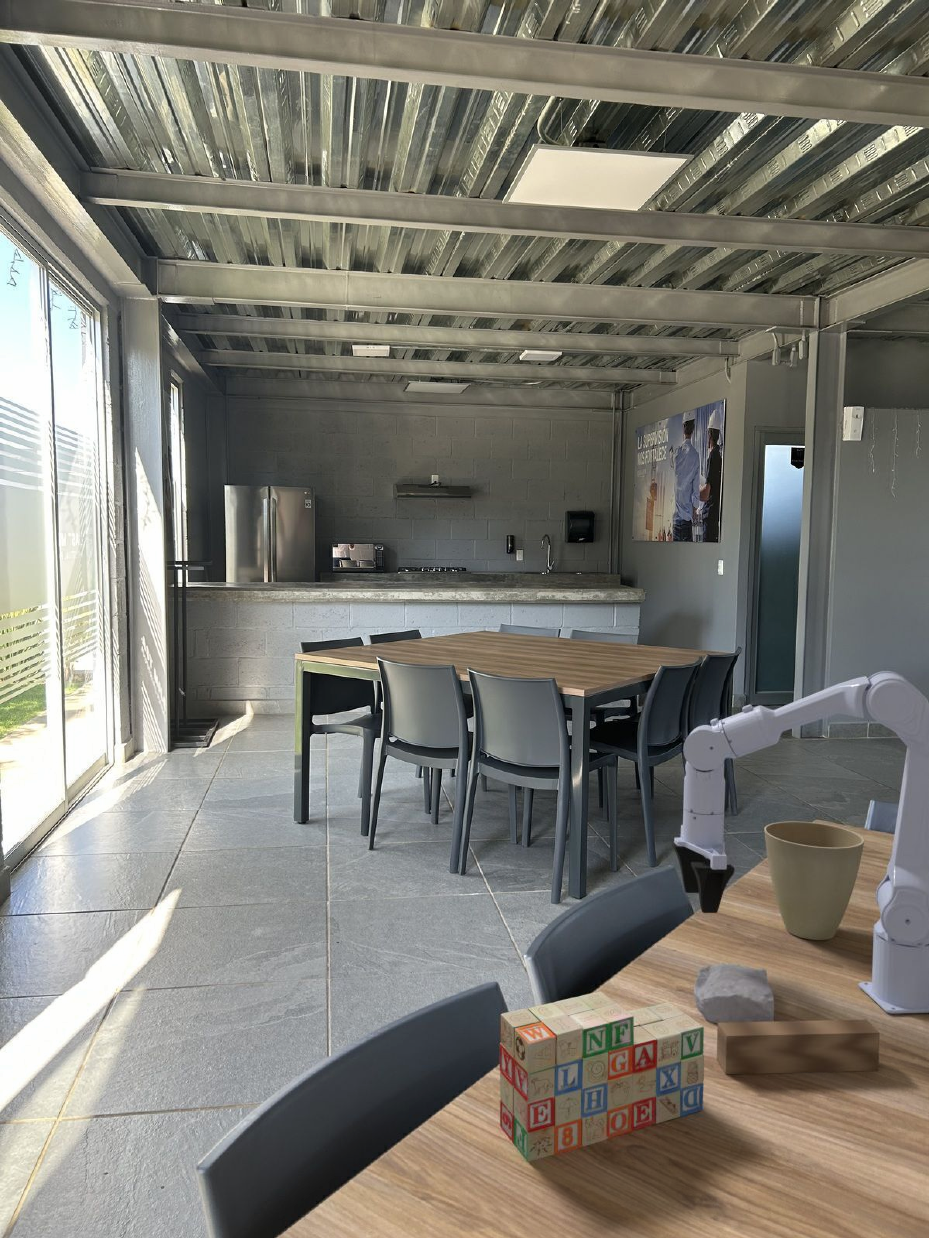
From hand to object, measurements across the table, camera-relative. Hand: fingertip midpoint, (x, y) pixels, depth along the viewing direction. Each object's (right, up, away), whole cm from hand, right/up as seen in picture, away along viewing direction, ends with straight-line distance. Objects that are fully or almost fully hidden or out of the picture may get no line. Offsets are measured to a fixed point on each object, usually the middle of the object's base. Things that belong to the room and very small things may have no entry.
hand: (700, 901), depth 128 cm
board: (+5, -11, -25) cm, 28 cm away
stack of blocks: (-20, -12, -35) cm, 42 cm away
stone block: (+1, -11, -10) cm, 15 cm away
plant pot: (+21, -9, +14) cm, 27 cm away
